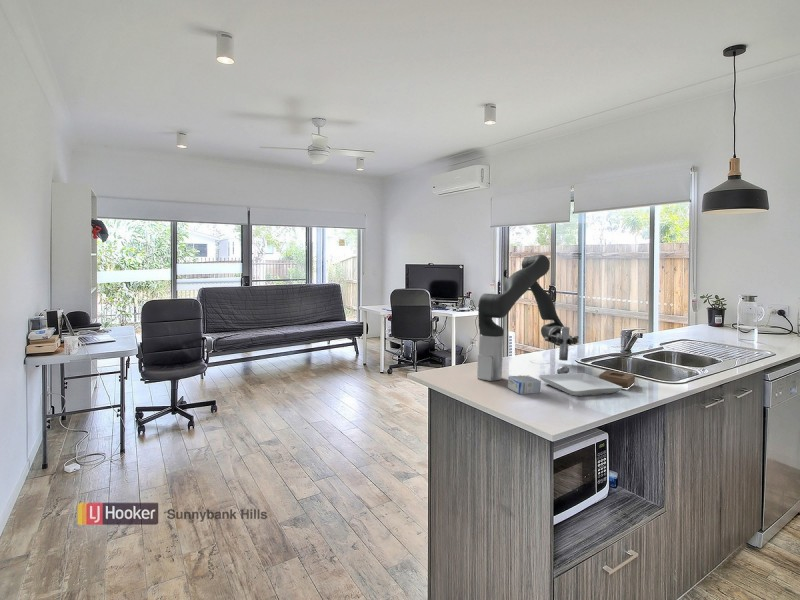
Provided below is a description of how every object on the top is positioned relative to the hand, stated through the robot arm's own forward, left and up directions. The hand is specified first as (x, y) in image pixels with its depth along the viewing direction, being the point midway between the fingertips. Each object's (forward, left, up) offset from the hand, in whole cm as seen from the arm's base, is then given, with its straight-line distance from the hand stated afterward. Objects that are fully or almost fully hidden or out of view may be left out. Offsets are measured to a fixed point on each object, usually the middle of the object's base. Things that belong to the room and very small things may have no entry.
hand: (565, 342), depth 176 cm
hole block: (+7, -18, -15) cm, 24 cm away
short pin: (+6, +4, -14) cm, 15 cm away
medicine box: (-22, +2, -13) cm, 25 cm away
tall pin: (+2, +1, -8) cm, 8 cm away
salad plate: (-8, -9, -16) cm, 20 cm away
